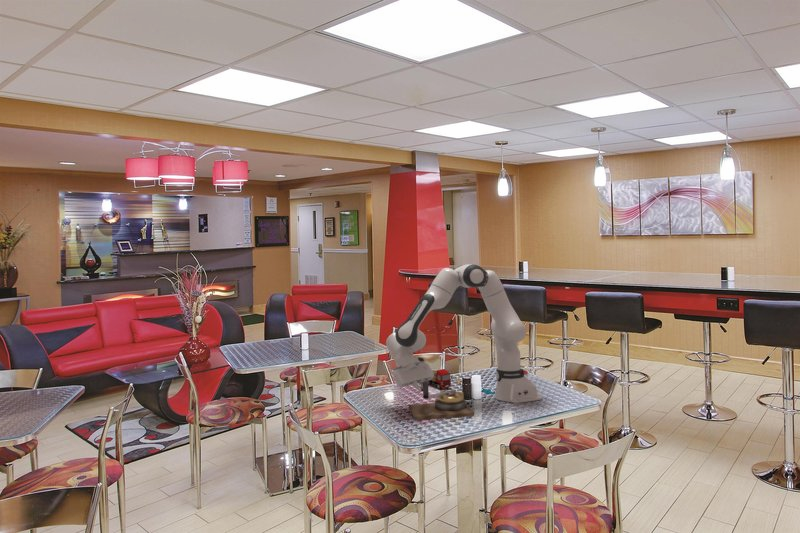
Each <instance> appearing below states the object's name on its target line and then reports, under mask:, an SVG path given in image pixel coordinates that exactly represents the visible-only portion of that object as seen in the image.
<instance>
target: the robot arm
mask: <svg viewBox="0 0 800 533" xmlns="http://www.w3.org/2000/svg"><path fill="white" fill-rule="evenodd" d="M459 287H461V288H465V289H466V288H467V289H470V288H471V289H472V288H473V289H474V288H477V289H478V291H479V292H480V295H481V297H482V300H483V302H484V305H485V306H486V309H487V312H488V313H489V314H490V316H491V318H492V319H493V320H492V321H491V323H490V330H491V331H492V334H493V339H494V340H493V341H494V344H495V349H496V367H497V368H496V372H495V374H496V375H495V376H496V377H495V378H496V390H495V392H494V393H495V394H494V399H496V400H498V401H503V402H508V403H512V404H519V403H526V402H532V401H533V402H534V401H542V400H543V395H542V394H541V393H539V392H538V389H537V386H536V384H535V383H534V382H533V381H531V380H530V379H529V378H527V377H526V376H528V374H529V372H528V371H527V370H526V369H523V368H521V367H522V366H521V351H520V349H519V347H518V343H519V342H521V341H523V340H524V339H525V338H526V336H527V328H526V325H525V324H524V323H523V322H522V321H521V319H520V317H519V316H518V314H517V312H516V311H515V308H514V307H513V306H512V304H511V302H510V300H509V298H508V295H507V292H506V290H505V288H504V286H503V284H502V282H501V280H500V277H499V276H498V275H497V273H496V272H495V271H494V270H491V269H486V270H485V269H484V268H483V267H482V266H480V265H477V264H471V263H470V264H469V263H467V264H462V265H458V266H456V267H455V268H454V269H453V268H450V267H445V268H442V269H441V270H440V272H438V274H437V275H436V276H435V278H434V279H433V281H432V283H431V285H430V286H429V288H428V289H427V291H426V292H425V293H424V295H423V296H422V297H421V298H420V299H419V301H418V302H417V304H416V305H415V306H414V307H413V309H412V311H411V313H410V314H409V315H408V317H407V318H406V320H405V321H403V322H402V323H401V324H400V325H399V326H398V327H397V328H396V331H395V332H393V333H391V334H390V335H388V337H387V338H386V341H385V346H386V348H387V350H388V352H389V355H390V356H391V358H392V359H393V360H394V362H395V363H394V364H395V365H396V367H392V369H391V374H392V375H393V378H394V381H395V383H396V386H397V387H399V388H404V387H407V386H412V387H414V388H415V389H416V390H417V391H418V392H419V393H421V392H423V382H424V381H429V380H431V379H432V378H433V377H434V373H435V372H434V371H433V369H432V367H431V366H430V365H429V364H428V363H427V362H426V358H425V357H420V356H416V355H414V354H415V353H416V352H420V350H422V349H423V348H425V346H426V344H427V336H426V334H425V333H424V332H423V331H421V330H420V329H419V328H420V326H421V325H422V322H423V321H424V320H425V318H426V317H427V315H428V314H429V313H430V312H432V311H433V310H439V309H443V308H445V307H446V306H447V305H448V304H449V302H450V301H451V299H452V298H453V295H454V293H455V291H456V290H457V289H458V288H459Z"/></svg>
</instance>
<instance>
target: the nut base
mask: <svg viewBox="0 0 800 533" xmlns="http://www.w3.org/2000/svg"><path fill="white" fill-rule="evenodd" d="M408 409H409V411H410V413H411V415H412V417H413V419H414V420H415V421H424V420H434V419H435V420H436V419H437V420H438V419H439V420H440V419H449V418H465V417H466V418H467V417H475V412H474V410H472V408H471V407H470V406H469V405H468V404H467V400H466V399H465V398H464V401H463V402H462V403H459V404H442V403H439V402H437V398H436V399H435V400H434V402H429V403H427V402H426V403H413V404H412V403H411V404H408Z"/></svg>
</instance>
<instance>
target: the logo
mask: <svg viewBox="0 0 800 533" xmlns="http://www.w3.org/2000/svg"><path fill="white" fill-rule="evenodd" d="M455 380H458V381H456V384H458V383H459V385H462V384H461V380H462V379H460V378H454V379H453V381H455ZM482 389H483V390H482V391H483V393H485V394H487V395H495V393H496V392H494V391H491V390H490V389H489V388H488V389H486V388H483V387H482ZM482 391H481V392H482Z"/></svg>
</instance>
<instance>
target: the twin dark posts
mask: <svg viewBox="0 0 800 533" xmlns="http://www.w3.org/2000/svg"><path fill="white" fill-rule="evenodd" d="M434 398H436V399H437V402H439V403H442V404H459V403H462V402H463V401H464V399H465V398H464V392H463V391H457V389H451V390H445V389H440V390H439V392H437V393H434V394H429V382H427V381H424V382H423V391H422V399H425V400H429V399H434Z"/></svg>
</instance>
